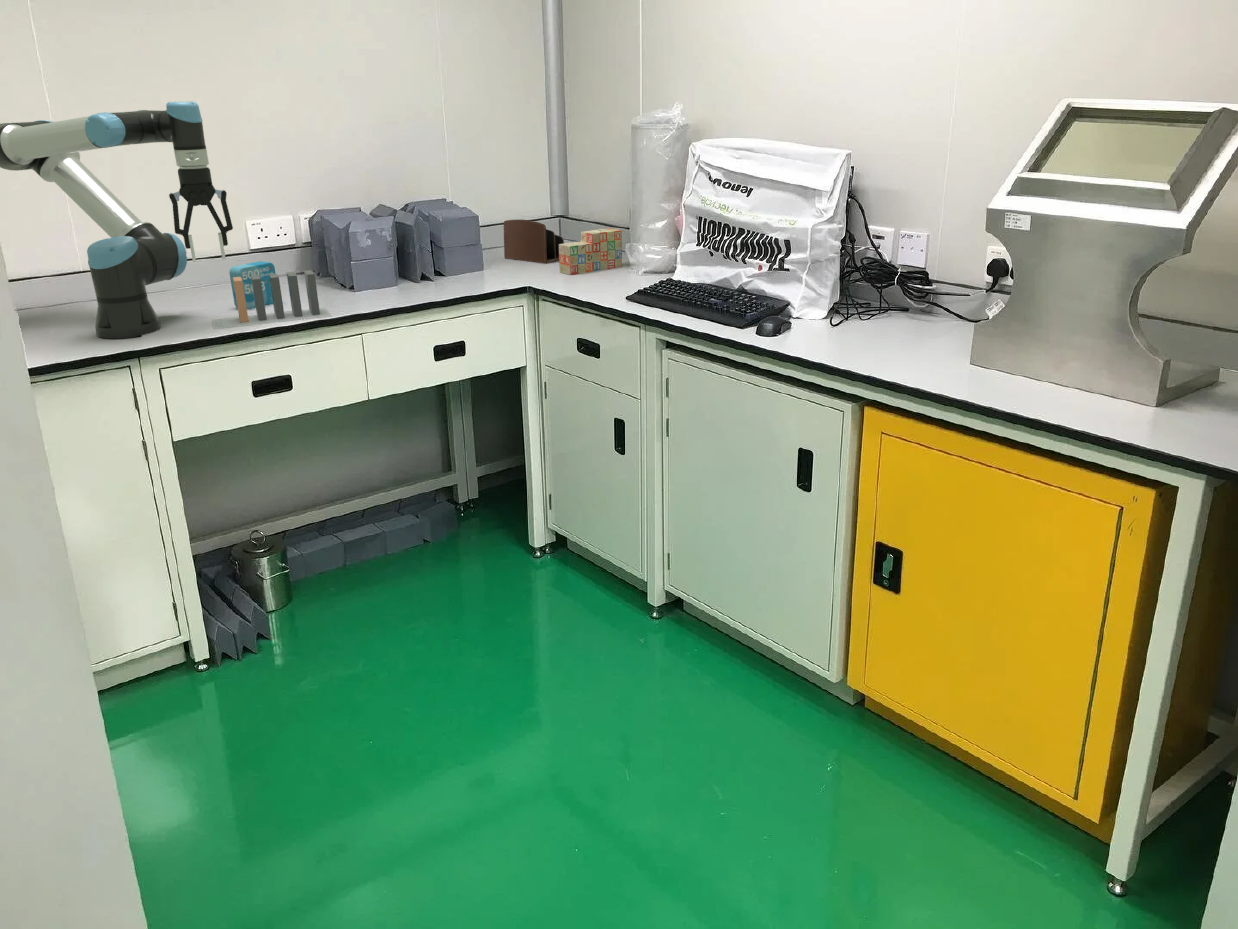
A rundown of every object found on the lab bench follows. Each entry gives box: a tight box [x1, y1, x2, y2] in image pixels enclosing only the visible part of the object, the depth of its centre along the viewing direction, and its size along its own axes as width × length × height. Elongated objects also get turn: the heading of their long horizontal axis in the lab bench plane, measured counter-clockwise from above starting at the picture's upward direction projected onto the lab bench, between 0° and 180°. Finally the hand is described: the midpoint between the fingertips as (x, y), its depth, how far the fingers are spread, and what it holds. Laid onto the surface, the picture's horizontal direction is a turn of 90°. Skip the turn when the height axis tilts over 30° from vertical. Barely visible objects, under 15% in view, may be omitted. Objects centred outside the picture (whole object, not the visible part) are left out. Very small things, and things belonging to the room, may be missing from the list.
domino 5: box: [303, 269, 320, 315], centre depth 267 cm, size 2×6×11 cm, turn 24°
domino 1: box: [233, 277, 249, 323], centre depth 261 cm, size 2×6×11 cm, turn 23°
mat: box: [210, 307, 333, 330], centre depth 264 cm, size 30×12×1 cm, turn 114°
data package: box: [228, 260, 277, 311], centre depth 278 cm, size 12×4×12 cm, turn 147°
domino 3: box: [269, 272, 285, 319], centre depth 264 cm, size 2×6×11 cm, turn 24°
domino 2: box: [251, 275, 267, 321], centre depth 262 cm, size 2×6×11 cm, turn 23°
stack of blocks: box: [558, 228, 623, 276], centre depth 321 cm, size 21×6×12 cm, turn 129°
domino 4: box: [286, 271, 303, 317], centre depth 266 cm, size 2×6×11 cm, turn 23°
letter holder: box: [503, 219, 565, 265], centre depth 341 cm, size 10×20×14 cm, turn 52°
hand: (209, 259), depth 254 cm, fingers open, 6 cm apart
